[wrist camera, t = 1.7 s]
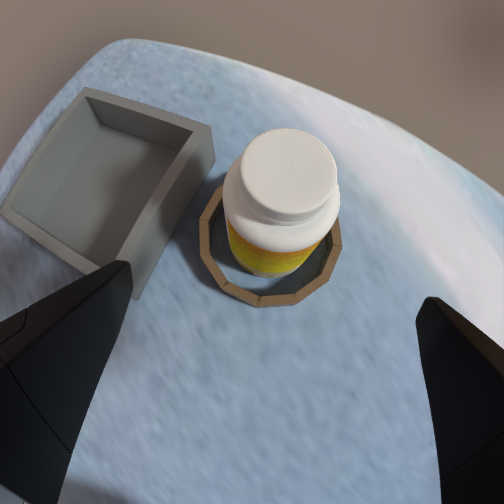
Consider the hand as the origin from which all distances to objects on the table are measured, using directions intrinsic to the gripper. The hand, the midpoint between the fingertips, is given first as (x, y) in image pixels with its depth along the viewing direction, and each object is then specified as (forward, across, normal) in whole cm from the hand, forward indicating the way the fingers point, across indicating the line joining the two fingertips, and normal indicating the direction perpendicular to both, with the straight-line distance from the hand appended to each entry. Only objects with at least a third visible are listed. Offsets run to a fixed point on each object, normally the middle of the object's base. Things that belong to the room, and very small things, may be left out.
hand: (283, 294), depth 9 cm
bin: (+14, +12, +4) cm, 19 cm away
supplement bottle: (+13, 0, +5) cm, 14 cm away
